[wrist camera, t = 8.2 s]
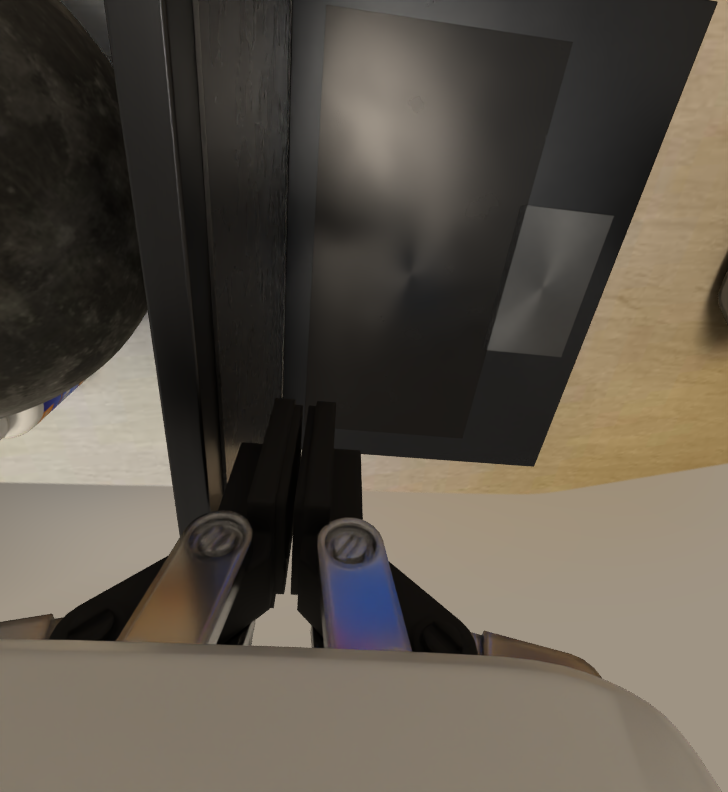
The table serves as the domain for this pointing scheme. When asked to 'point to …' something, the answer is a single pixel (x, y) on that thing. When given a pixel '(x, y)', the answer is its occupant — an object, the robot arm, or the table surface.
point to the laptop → (464, 206)
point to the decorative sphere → (61, 208)
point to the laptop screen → (207, 219)
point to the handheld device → (724, 298)
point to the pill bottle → (29, 417)
